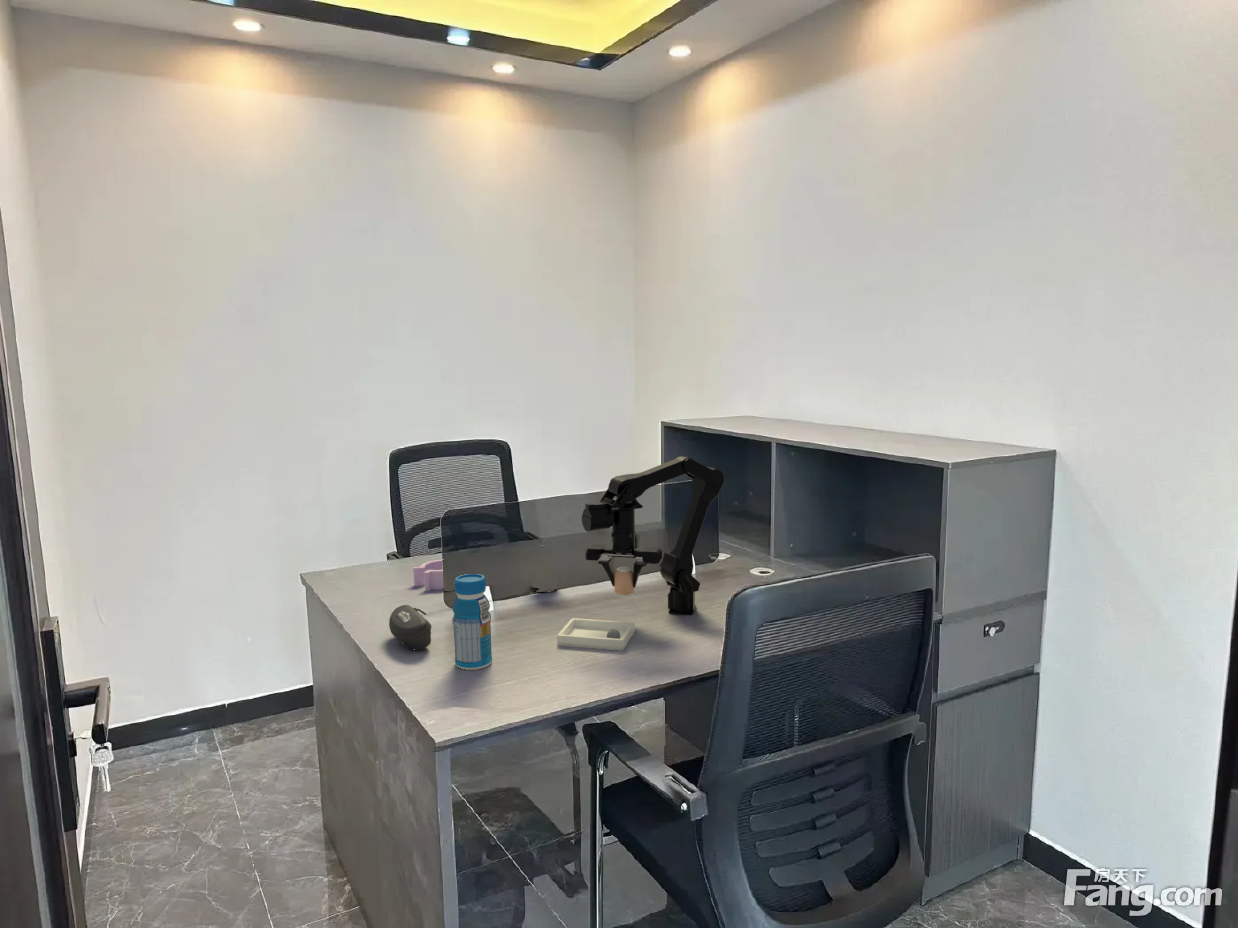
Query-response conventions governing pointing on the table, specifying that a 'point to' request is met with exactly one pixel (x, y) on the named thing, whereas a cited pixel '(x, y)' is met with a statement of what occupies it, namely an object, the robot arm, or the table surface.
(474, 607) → the beverage bottle
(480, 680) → the table surface
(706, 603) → the table surface
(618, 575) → the cylinder
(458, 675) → the table surface
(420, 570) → the clip
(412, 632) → the glasses case
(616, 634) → the ball
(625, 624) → the tray
